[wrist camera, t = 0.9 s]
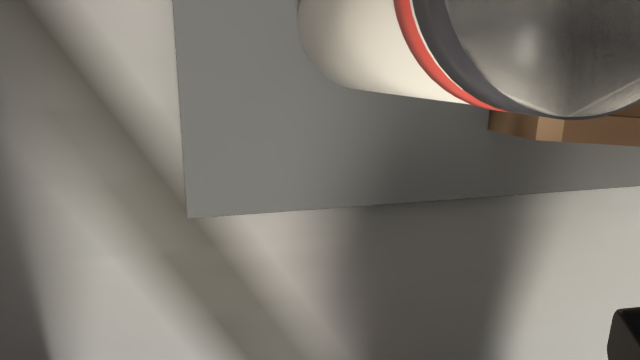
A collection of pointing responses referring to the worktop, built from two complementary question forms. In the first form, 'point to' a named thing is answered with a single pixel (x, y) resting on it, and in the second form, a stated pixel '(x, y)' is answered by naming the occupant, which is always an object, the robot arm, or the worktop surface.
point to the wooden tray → (572, 127)
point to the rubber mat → (341, 129)
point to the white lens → (482, 52)
